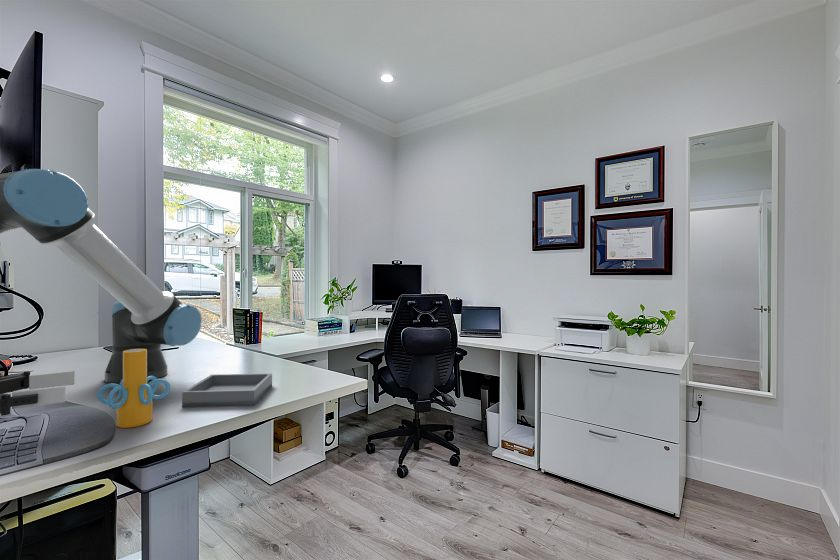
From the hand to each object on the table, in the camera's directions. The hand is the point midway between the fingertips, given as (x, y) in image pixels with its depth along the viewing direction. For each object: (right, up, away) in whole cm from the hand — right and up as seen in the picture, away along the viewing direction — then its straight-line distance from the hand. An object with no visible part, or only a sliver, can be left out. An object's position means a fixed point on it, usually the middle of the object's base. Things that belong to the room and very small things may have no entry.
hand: (70, 385), depth 74 cm
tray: (+19, -9, +25) cm, 32 cm away
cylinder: (+8, -10, +6) cm, 14 cm away
